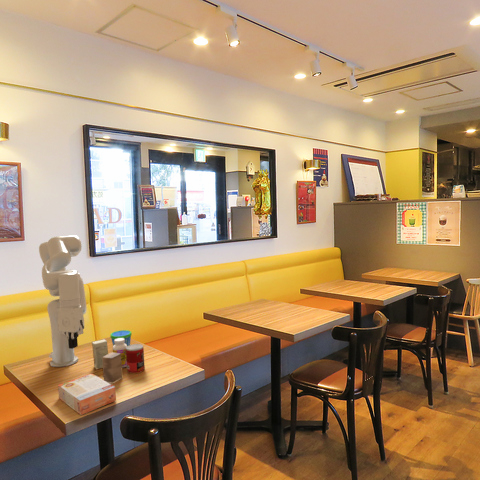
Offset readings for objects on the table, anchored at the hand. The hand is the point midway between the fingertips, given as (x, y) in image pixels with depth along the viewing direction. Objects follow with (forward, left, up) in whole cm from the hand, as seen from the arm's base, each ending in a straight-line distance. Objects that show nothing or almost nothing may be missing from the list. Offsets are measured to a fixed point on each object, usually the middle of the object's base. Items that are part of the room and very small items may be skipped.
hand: (73, 347), depth 163 cm
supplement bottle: (+1, +27, -18) cm, 33 cm away
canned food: (+11, +25, -18) cm, 33 cm away
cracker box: (+1, -1, -15) cm, 15 cm away
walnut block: (+8, +13, -18) cm, 24 cm away
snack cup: (-11, +43, -18) cm, 48 cm away
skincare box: (-8, +24, -18) cm, 31 cm away
